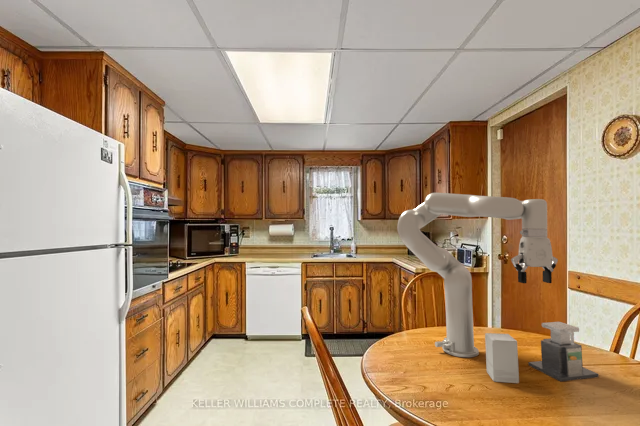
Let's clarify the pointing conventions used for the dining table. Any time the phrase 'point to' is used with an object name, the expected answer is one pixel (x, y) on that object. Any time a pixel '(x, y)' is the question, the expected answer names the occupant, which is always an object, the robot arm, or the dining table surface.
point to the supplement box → (502, 357)
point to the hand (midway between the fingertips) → (534, 282)
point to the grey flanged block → (561, 332)
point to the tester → (562, 362)
